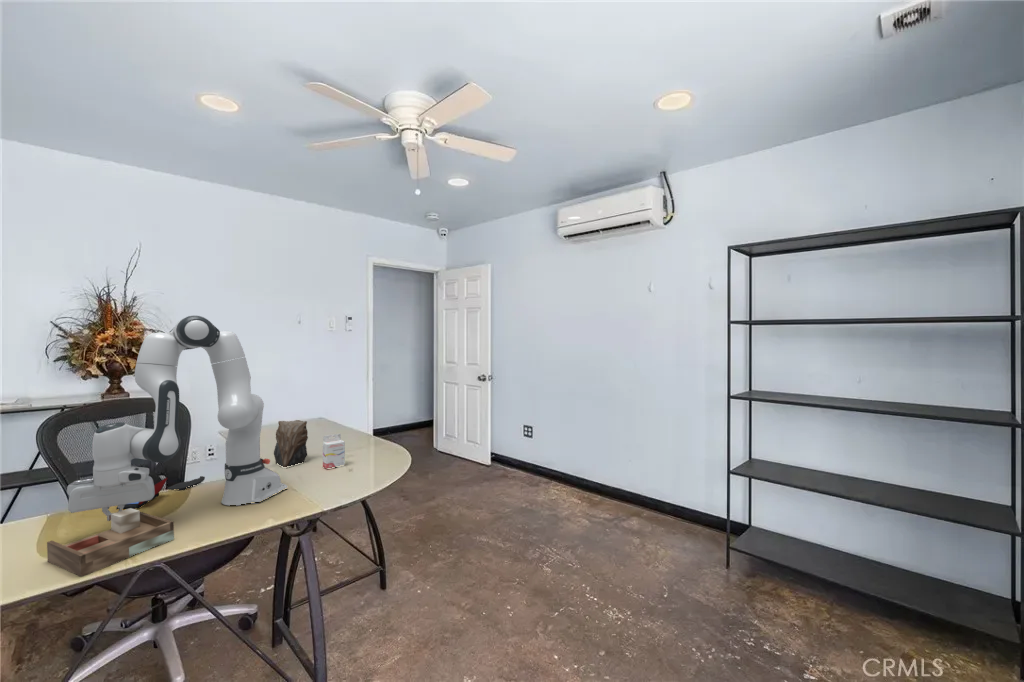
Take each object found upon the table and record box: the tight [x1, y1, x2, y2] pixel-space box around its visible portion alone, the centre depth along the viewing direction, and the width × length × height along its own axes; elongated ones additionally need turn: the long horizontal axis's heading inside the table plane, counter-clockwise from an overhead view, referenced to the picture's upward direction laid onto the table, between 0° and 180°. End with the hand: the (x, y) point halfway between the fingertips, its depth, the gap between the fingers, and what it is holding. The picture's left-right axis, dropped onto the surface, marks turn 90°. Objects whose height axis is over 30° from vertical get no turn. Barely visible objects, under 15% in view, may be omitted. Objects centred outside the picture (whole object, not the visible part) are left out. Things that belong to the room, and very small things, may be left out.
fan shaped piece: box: [167, 475, 206, 491], centre depth 183 cm, size 8×14×2 cm, turn 164°
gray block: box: [110, 508, 141, 533], centre depth 137 cm, size 5×5×5 cm
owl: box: [273, 419, 309, 467], centre depth 210 cm, size 13×13×20 cm
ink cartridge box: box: [322, 433, 346, 470], centre depth 205 cm, size 9×5×15 cm, turn 133°
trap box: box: [46, 511, 175, 578], centre depth 130 cm, size 22×18×6 cm
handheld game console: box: [115, 477, 168, 510], centre depth 164 cm, size 12×11×7 cm
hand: (114, 519), depth 140 cm, fingers closed
